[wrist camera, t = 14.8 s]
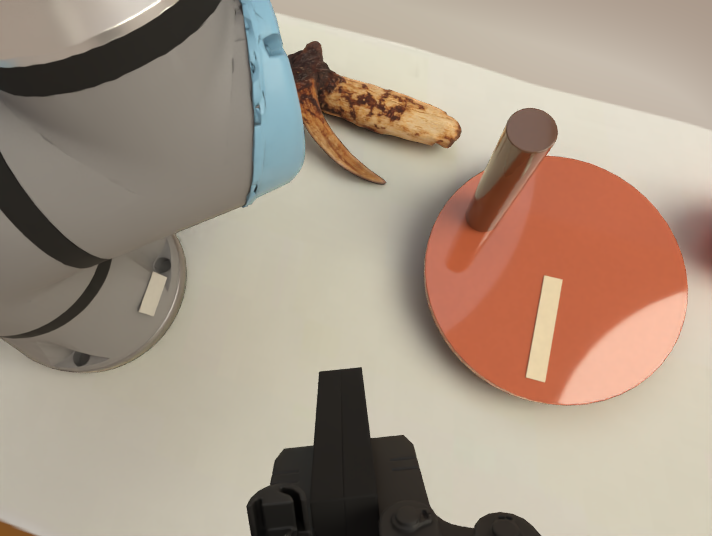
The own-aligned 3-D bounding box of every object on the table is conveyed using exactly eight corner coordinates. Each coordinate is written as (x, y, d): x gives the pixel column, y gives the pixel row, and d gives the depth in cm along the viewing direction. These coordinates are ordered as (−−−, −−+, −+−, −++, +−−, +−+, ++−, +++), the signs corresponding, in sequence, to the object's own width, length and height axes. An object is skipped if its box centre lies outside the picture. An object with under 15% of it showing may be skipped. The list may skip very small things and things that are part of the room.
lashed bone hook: (252, 139, 45) (429, 208, 42) (235, 111, 41) (433, 187, 38) (295, 58, 47) (468, 120, 44) (284, 23, 42) (477, 89, 39)
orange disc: (452, 140, 42) (488, 16, 28) (690, 191, 40) (854, 84, 26) (397, 364, 37) (407, 346, 24) (663, 437, 35) (847, 464, 21)
